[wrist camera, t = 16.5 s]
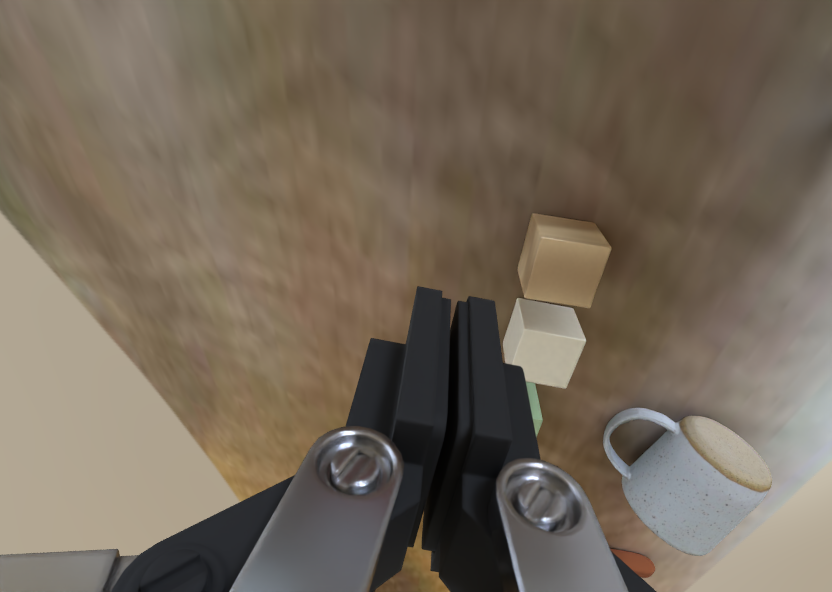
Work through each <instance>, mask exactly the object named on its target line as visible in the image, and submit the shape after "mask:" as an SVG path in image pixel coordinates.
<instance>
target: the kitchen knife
mask: <svg viewBox="0 0 832 592" xmlns="http://www.w3.org/2000/svg"><path fill="white" fill-rule="evenodd" d="M610 550H611V551H612V552H613V553H614V554H615V555H616V556H617V557H619V558H620V559H621V560H622V561H623V562H624V563H625V564H626V565H627V566H629V567H630V568H631V569H632V570H633V571H634V572H635V573H636V574H637V575H638V576H640V577H643V578H648V577H650V576H651V575H652V574H653V573H654V571H655V566H654V564H653V562H652V561H651V560H650V559H648V558H647V557H645V556H643V555H640V554H637V553H633V552H628V551H622V550H616V549H610Z"/></svg>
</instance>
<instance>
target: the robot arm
mask: <svg viewBox="0 0 832 592" xmlns="http://www.w3.org/2000/svg"><path fill="white" fill-rule="evenodd" d="M450 312H451V299H446V298H442V291H440V290H434V289H429V288H424V287H419V286H418V287H417V291H416V296H415V301H414V306H413V311H412V316H411V321H410V326H409V331H408V336H407V341H406V344H400V343H395V342H390V341H384V340H379V339H374V338H371V339H370V343H369V346H368V350H367V353H366V357H365V360H364V364H363V367H362V371H361V374H360V378H359V381H358V385H357V388H356V392H355V395H354V399H353V402H352V406H351V409H350V413H349V416H348V420H347V424H346V427H341V428H337V429H334V430H331V431H329V432H327V433H326V434H324V435H323V436H321V437H320V438H318V439H317V441H316V442H315V443H314V444H313V446H312V447H311V448H310V450H309V452H308V453H307V455H306V457H305V459H304V460H303V462H302V464H301V466H300V467H299V469H298V471H297V473H296V474H295V475H294V476H292V477H290V478H288V479H286V480H284V481H282V482H280V483H278V484H276V485H274V486H272V487H270V488H268V489H266V490H264V491H262V492H260V493H258V494H256V495H254V496H252V497H250V498H248V499H246V500H244V501H242V502H240V503H238V504H236V505H234V506H231V507H230V508H227V509H225V510H224V511H221V512H219V513H217V514H216V515H213V516H211V517H210V518H207V519H205V520H203V521H201V522H199V523H197V524H195V525H193V526H191V527H189V528H187V529H185V530H183V531H181V532H179V533H177V534H175V535H173V536H171V537H169V538H167V539H165V540H163V541H161V542H159V543H157V544H155V545H154V546H152V547H151V548H149V549H148V550H146V551H144V552H143V553H141V554H140V555H135V556H120V555H119V550H118V549H109V550H108V549H107V550H88V551H68V552H50V553H29V554H10V555H9V554H8V555H0V592H375V591H376V588H378V587H379V586H380V585H382V584H383V583H384V582H386V581H387V580H388V579H390V578H391V577H392V576H394V575H395V574H396V573H398V572H399V571H401V569H402V565H403V561H404V558H405V554H406V550H407V547H413V546H414V543H415V539H416V536H417V532H418V529H419V525H420V521H421V518H422V514H423V511H424V517H423V531H422V549H424V550H429V551H432V554H431V571H435V572H439V578H440V579H441V580H442V581H443V583H444V584H445V585H446V586H447V588H448V589H449V590H450V591H451V592H656V591H655V590H654V589H653V588H652V587H651V586H650V585H648V584H647V583H646V582H645V581H644V580H643V579H642V578H641V577H640V576H638V575H637V574H636V573H635V572H634V571H633V570H632V569H631V568H630V567H629V566H627V565H626V564H625V563H624V562H623V561H622V560H621V559H620V558H619V557H617V556H616V555H615V554H614V553H613V552H612V551H611V550H610V548H609V545H608V543H607V541H606V538H605V536H604V534H603V532H602V529H601V527H600V525H599V522H598V520H597V518H596V515H595V513H594V511H593V508H592V506H591V504H590V501H589V499H588V497H587V496H586V494H585V492H584V491H583V489H582V487H581V486H580V485H579V484H578V483H577V482H576V481H575V480H574V479H573V478H572V477H571V475H569V474H568V473H566V472H565V471H563V470H562V469H560V468H559V467H558V466H555V465H553V464H551V463H548V462H546V461H543V460H540V455H539V449H538V444H537V439H536V433H535V428H534V423H533V417H532V412H531V407H530V401H529V396H528V391H527V385H526V380H525V375H524V371H523V368H522V367H521V366H517V365H511V364H506V363H503V361H502V353H501V346H500V338H499V330H498V322H497V315H496V307H495V302H494V301H492V300H487V299H482V298H476V297H471V296H469V297H468V299H467V302H462V301H458V302H457V305H456V309H455V313H454V317H453V321H452V325H451V329H450Z"/></svg>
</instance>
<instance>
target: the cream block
mask: <svg viewBox="0 0 832 592" xmlns="http://www.w3.org/2000/svg"><path fill="white" fill-rule="evenodd" d="M585 343H586V339H585V336H584V334H583V331H582V329H581V326H580V324H579V321H578V319H577V316H576V314H575V311H574V309H573V308H569V307H564V306H558V305H553V304H548V303H543V302H537V301H532V300H527V299H522V298H517V301H516V304H515V307H514V310H513V313H512V316H511V319H510V322H509V325H508V328H507V331H506V334H505V338H504V341H503V349H504V356H505V363H506V364H511V365H517V366H521V367H522V368H523V371H524V375H525V380H526V381H527V382H532V383H538V384H543V385H548V386H554V387H559V388H564V389H566V387H567V385H568V382H569V380H570V378H571V375H572V373H573V371H574V368H575V366H576V364H577V362H578V359H579V357H580V355H581V352H582V350H583V348H584V345H585Z"/></svg>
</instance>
